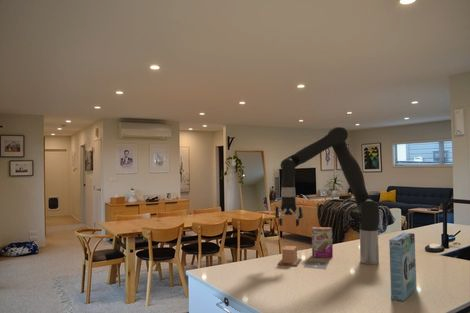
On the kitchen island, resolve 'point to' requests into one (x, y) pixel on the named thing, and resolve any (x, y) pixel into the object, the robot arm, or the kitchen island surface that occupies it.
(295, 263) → the walnut board
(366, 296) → the kitchen island surface
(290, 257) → the terracotta block
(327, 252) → the candy bar box
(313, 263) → the tile
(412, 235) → the gum box
